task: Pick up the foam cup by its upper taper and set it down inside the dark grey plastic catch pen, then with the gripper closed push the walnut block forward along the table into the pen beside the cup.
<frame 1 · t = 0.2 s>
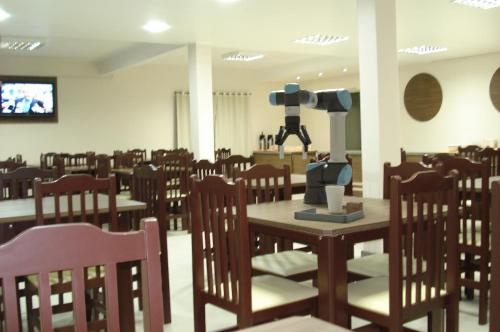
hand: (293, 159, 264), 28 cm above the table, fingers open, 13 cm apart
foam cup: (335, 212, 273), on the table
catch pen: (329, 217, 255), on the table
walnut block: (354, 214, 264), on the table
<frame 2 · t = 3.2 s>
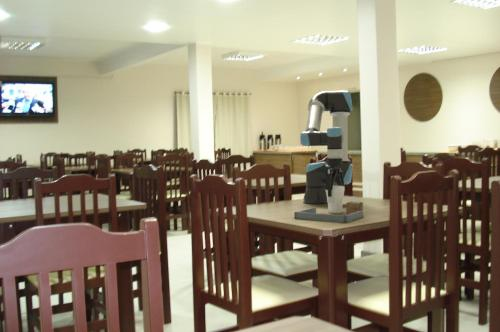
hand: (335, 201, 273), 5 cm above the table, fingers closed on foam cup, 9 cm apart
foam cup: (335, 212, 273), on the table, touching gripper
everything else where it was.
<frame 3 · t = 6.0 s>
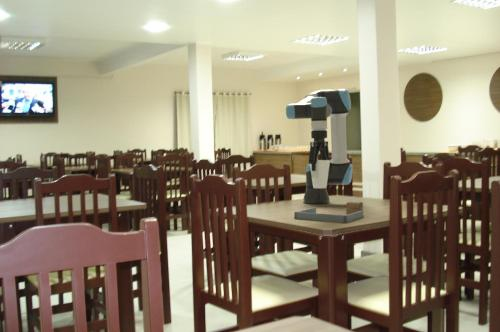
hand: (319, 177, 257), 19 cm above the table, fingers closed on foam cup, 9 cm apart
foam cup: (319, 188, 257), point 14 cm above the table, touching gripper
everything else where it was.
when the fingers open (6 cm above the table, at t = 8.7 s): foam cup drops 1 cm, on the table.
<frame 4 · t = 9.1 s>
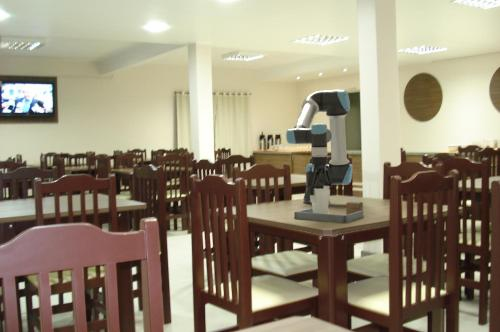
hand: (319, 200, 258), 8 cm above the table, fingers open, 13 cm apart
foam cup: (320, 217, 258), on the table
everything else where it was.
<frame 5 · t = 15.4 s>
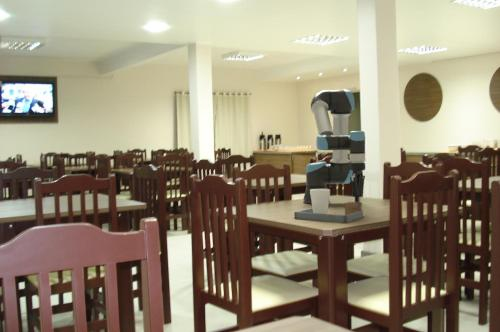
hand: (357, 209, 267), 2 cm above the table, fingers closed
walnut block: (353, 214, 263), on the table, touching gripper
everything else where it was.
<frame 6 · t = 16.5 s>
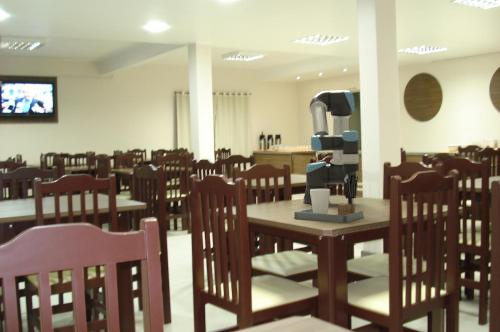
hand: (351, 211, 260), 2 cm above the table, fingers closed
walnut block: (346, 216, 256), on the table, touching gripper
everything else where it was.
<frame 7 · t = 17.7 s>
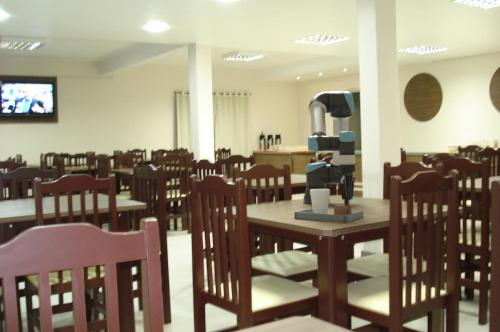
hand: (347, 213, 257), 2 cm above the table, fingers closed
walnut block: (342, 217, 253), on the table, touching gripper
everything else where it was.
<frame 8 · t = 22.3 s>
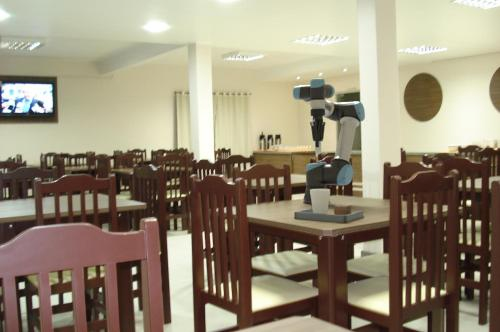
hand: (318, 153, 283), 29 cm above the table, fingers closed
walnut block: (342, 218, 253), on the table
everything else where it was.
at the end: foam cup inside the target area (5.0 cm from its centre), on the table; walnut block inside the target area (6.5 cm from its centre), on the table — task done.
